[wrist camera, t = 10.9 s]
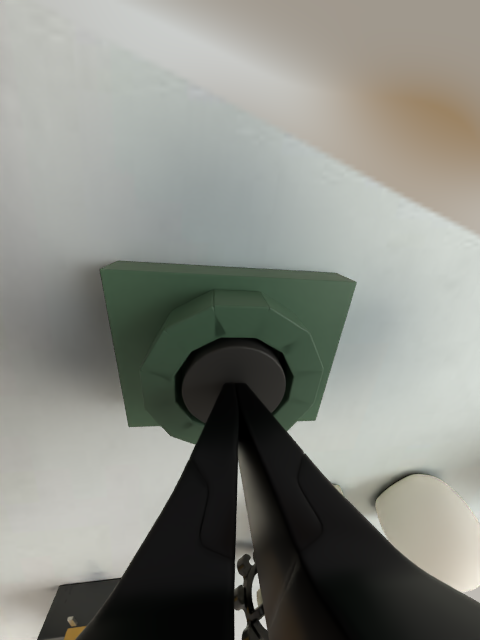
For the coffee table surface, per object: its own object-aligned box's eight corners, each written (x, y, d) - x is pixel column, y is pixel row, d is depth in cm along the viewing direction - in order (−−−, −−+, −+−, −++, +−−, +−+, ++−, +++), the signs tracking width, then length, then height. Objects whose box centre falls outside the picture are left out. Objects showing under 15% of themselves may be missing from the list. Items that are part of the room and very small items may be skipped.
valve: (311, 472, 17) (228, 545, 21) (361, 604, 11) (233, 675, 15) (365, 491, 20) (281, 554, 23) (431, 612, 14) (305, 672, 17)
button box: (138, 402, 13) (113, 463, 10) (117, 260, 9) (68, 281, 6) (304, 398, 14) (330, 451, 11) (336, 272, 11) (388, 295, 8)
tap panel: (79, 635, 26) (63, 686, 24) (32, 567, 19) (0, 629, 16) (207, 616, 28) (206, 661, 25) (210, 548, 21) (210, 600, 18)
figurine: (393, 520, 22) (457, 629, 17) (350, 507, 20) (407, 626, 14) (460, 475, 20) (563, 584, 14) (420, 456, 18) (520, 572, 12)
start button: (187, 398, 11) (183, 430, 9) (185, 323, 9) (179, 346, 7) (269, 397, 11) (278, 427, 10) (281, 325, 9) (294, 347, 8)
